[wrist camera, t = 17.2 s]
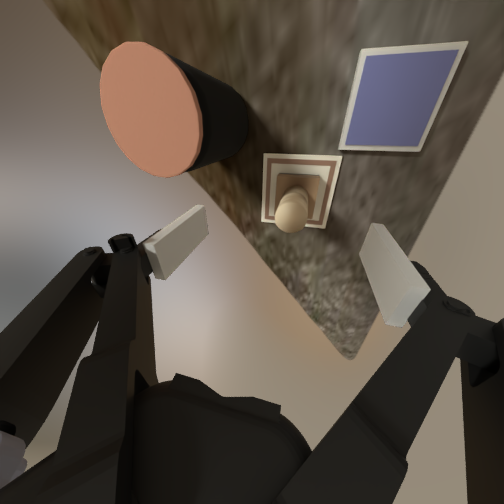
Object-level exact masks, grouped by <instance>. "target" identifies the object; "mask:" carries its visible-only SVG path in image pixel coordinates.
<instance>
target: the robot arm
mask: <svg viewBox="0 0 504 504" xmlns="http://www.w3.org/2000/svg"><path fill="white" fill-rule="evenodd" d="M208 234H209V233H208V225H207V218H206V210H205V206H204V205H196V206H194V207H193V208H191V209H190V210H189V211H187V212H186V213H184V214H183V215H182V216H180V217H179V218H177V219H176V220H175V221H173V222H172V223H170V224H169V225H167V226H166V227H165V228H163V229H160V230H158V231H156V232H155V233H153V235H151V236H149V238H146V239H145V240H144V241H142V242H141V243H139V244H138V245H137V244H136V242H135V239H134V237H133V235H132V234H127V233H126V234H119V235H116V236H114V237H112V238H110V239H109V240H108V243H109V244H110V247H111V249H112V251H113V253H105V252H104V250H103V249H102V247H89V248H85V249H84V250H82V251H80V252H79V253H78V254H76V255H75V257H74V258H73V259H72V260H71V261H70V262H69V263H68V264H67V265H66V266H65V267H64V268H63V269H62V270H61V271H60V272H59V273H58V274H57V275H56V276H55V277H54V278H53V279H52V280H51V282H49V283H48V285H46V287H45V288H44V289H43V290H42V291H41V292H40V293H39V294H38V295H37V296H36V297H35V298H34V299H33V300H32V301H31V302H30V303H29V304H28V305H27V306H26V307H25V308H24V309H23V310H22V312H20V314H19V315H17V317H16V318H15V319H14V320H13V321H12V322H11V323H10V324H9V325H8V326H7V327H6V328H5V329H4V330H3V331H2V332H1V333H0V504H392V503H393V501H394V499H395V497H396V495H397V493H398V491H399V489H400V486H401V484H402V482H403V480H404V478H405V475H406V472H407V469H408V463H407V461H406V455H407V453H408V450H409V449H410V447H411V445H412V443H413V441H414V438H415V437H416V434H417V433H418V431H419V429H420V427H421V425H422V423H423V421H424V418H425V416H426V415H427V413H428V410H429V409H430V407H431V405H432V403H433V401H434V399H435V397H436V395H437V393H438V391H439V389H440V387H441V384H442V383H443V381H444V379H445V377H446V375H447V373H448V371H449V369H450V367H451V365H452V363H453V360H454V359H455V357H457V358H460V360H461V382H462V401H463V421H464V440H465V460H466V480H467V500H468V504H504V318H503V319H501V320H500V321H499V322H498V323H495V322H492V321H489V320H486V319H483V318H480V317H478V316H475V313H474V312H473V310H472V309H471V308H470V307H469V306H467V305H466V304H464V303H463V302H461V301H459V300H457V299H455V298H452V297H449V296H447V295H446V294H445V293H444V292H443V290H442V289H441V288H440V287H439V285H438V284H437V283H436V282H435V280H433V278H432V277H431V275H429V273H428V271H427V270H426V269H425V268H424V267H423V266H422V265H420V264H419V263H417V262H415V261H410V260H409V259H408V257H407V256H406V255H405V253H404V252H403V251H402V249H401V248H400V246H399V245H398V244H397V242H396V241H395V240H394V238H393V237H392V235H391V234H390V233H389V231H388V230H387V229H386V227H385V226H384V225H383V224H377V223H371V225H370V228H369V230H368V233H367V235H366V238H365V240H364V243H363V245H362V248H361V250H360V253H359V256H360V258H361V261H362V264H363V266H364V269H365V272H366V274H367V277H368V280H369V282H370V285H371V288H372V290H373V293H374V296H375V298H376V301H377V304H378V306H379V309H380V312H381V314H382V317H383V320H384V322H385V324H386V325H391V326H396V327H401V328H402V327H403V326H404V324H405V323H406V322H407V320H408V322H409V324H410V326H411V328H410V330H409V331H408V332H407V333H406V334H405V336H404V337H403V338H402V339H401V341H400V342H399V343H398V344H397V346H396V347H395V348H394V350H393V351H392V352H391V353H390V355H389V356H388V357H387V358H386V360H385V361H384V362H383V363H382V365H381V366H380V367H379V368H378V370H377V371H376V372H375V374H374V375H373V376H372V377H371V378H370V380H369V381H368V382H367V383H366V385H365V386H364V387H363V389H362V390H361V391H360V392H359V394H358V395H357V396H356V397H355V399H354V400H353V401H352V402H351V404H350V405H349V406H348V407H347V409H346V410H345V411H344V413H343V414H342V415H341V416H340V417H339V419H338V420H337V421H336V423H335V424H334V425H333V426H332V428H331V429H330V430H329V431H328V432H327V434H326V435H325V436H324V438H323V439H322V440H321V441H320V443H319V444H318V445H317V446H316V448H315V449H314V450H313V451H311V449H310V447H309V445H308V443H307V442H306V440H305V438H304V437H303V436H302V434H301V433H300V432H299V430H298V429H297V428H296V427H295V426H294V425H293V423H291V422H290V421H289V420H288V419H287V418H286V417H285V416H283V415H282V414H280V410H281V405H278V404H274V403H271V402H268V401H265V400H262V399H258V398H255V397H223V396H221V395H219V394H218V393H216V392H215V391H214V390H212V389H211V388H210V387H208V386H207V385H205V384H204V383H203V382H201V381H200V380H197V379H194V378H191V377H188V376H184V375H181V374H178V373H176V374H175V376H174V378H173V380H172V381H165V382H161V383H158V379H157V375H156V364H155V347H154V331H153V315H152V314H153V313H152V296H151V279H150V277H149V274H151V273H152V272H153V273H154V276H155V278H157V279H162V280H166V279H167V278H168V277H169V276H170V275H171V274H172V273H173V271H175V269H176V268H177V267H178V266H179V265H180V264H181V263H182V262H183V261H184V260H185V259H186V258H187V257H188V255H189V254H190V253H191V252H192V251H193V250H194V249H195V248H196V247H197V246H198V245H199V244H200V242H201V241H202V240H203V239H204V238H205V237H206V236H207V235H208ZM91 281H92V283H91ZM98 321H99V323H98ZM97 323H98V328H97V332H96V337H95V342H94V346H93V351H92V354H91V355H90V356H87V357H84V358H83V359H82V360H81V361H80V364H79V366H78V369H77V373H76V377H75V381H74V385H73V389H72V393H71V397H70V400H69V404H68V408H67V412H66V416H65V420H64V423H63V427H62V431H61V435H60V439H59V443H58V447H57V450H56V451H55V452H53V453H52V454H50V455H49V456H47V457H46V458H45V459H43V460H41V461H40V462H39V463H37V464H36V465H34V466H33V467H31V468H30V469H29V470H27V471H26V472H24V471H25V469H26V466H27V460H26V459H24V458H23V456H24V453H25V449H26V448H27V447H28V445H29V444H30V443H31V441H32V440H33V438H34V437H35V435H36V434H37V432H38V431H39V429H40V428H41V426H42V425H43V423H44V422H45V420H46V418H47V417H48V415H49V413H50V411H51V410H52V408H53V406H54V404H55V402H56V401H57V399H58V397H59V395H60V393H61V391H62V389H63V387H64V386H65V384H66V382H67V380H68V378H69V376H70V374H71V372H72V370H73V368H74V367H75V365H76V363H77V361H78V359H79V357H80V355H81V353H82V351H83V350H84V348H85V346H86V344H87V342H88V340H89V338H90V336H91V335H92V333H93V331H94V328H95V327H96V325H97Z"/></svg>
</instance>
